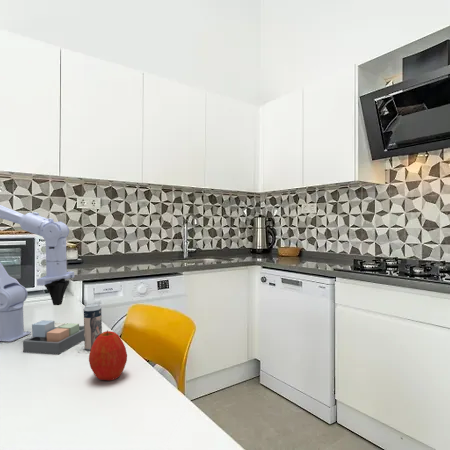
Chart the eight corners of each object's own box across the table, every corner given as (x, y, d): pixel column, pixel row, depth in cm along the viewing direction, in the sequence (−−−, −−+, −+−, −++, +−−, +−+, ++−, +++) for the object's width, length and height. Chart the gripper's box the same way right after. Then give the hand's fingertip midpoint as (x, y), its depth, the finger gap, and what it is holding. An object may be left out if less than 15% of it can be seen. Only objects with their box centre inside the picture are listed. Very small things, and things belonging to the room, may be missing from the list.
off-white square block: (44, 338, 102) (44, 326, 102) (54, 333, 106) (53, 322, 106) (56, 338, 101) (56, 327, 101) (65, 334, 105) (65, 323, 105)
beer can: (96, 351, 95) (95, 307, 95) (80, 350, 96) (79, 307, 96) (105, 345, 100) (104, 303, 99) (90, 344, 101) (89, 302, 100)
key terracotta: (46, 344, 96) (46, 332, 96) (56, 339, 100) (56, 328, 100) (59, 345, 95) (59, 333, 95) (69, 340, 99) (68, 328, 99)
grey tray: (23, 352, 95) (22, 340, 95) (59, 334, 110) (59, 323, 110) (58, 354, 93) (58, 342, 93) (91, 336, 108) (90, 325, 108)
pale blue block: (32, 336, 97) (32, 324, 97) (42, 332, 101) (42, 320, 101) (44, 337, 96) (44, 325, 96) (54, 332, 100) (54, 321, 100)
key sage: (58, 338, 101) (58, 327, 101) (67, 334, 105) (67, 323, 105) (70, 339, 100) (70, 327, 100) (79, 335, 104) (79, 323, 104)
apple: (88, 373, 81) (87, 327, 81) (125, 366, 85) (124, 322, 84) (90, 388, 74) (88, 338, 74) (129, 380, 77) (128, 332, 77)
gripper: (51, 263, 100) (52, 311, 100) (82, 258, 114) (83, 299, 114) (30, 263, 101) (31, 310, 101) (63, 258, 115) (64, 299, 116)
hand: (57, 304), depth 108 cm, fingers closed
